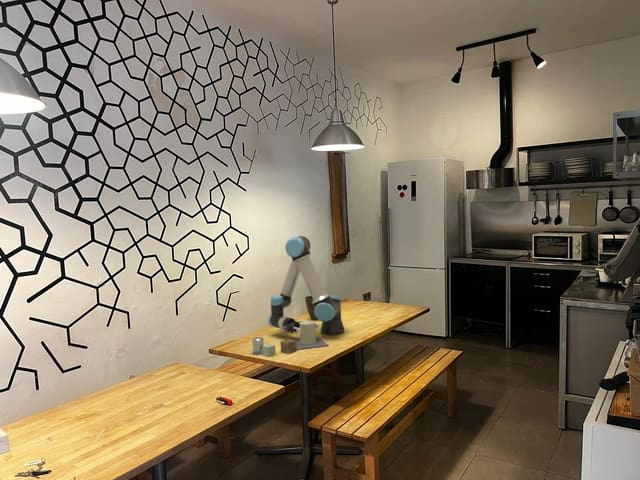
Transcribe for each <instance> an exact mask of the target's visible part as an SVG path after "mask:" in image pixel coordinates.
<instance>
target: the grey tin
mask: <svg viewBox="0 0 640 480" xmlns="http://www.w3.org/2000/svg"><path fill="white" fill-rule="evenodd" d="M251 341H252V345H251V346H252V354H253V355H255V354H256V356H257V355H263V354H262V346H264V345H265V344H264V337H261V336H257V337H253V338H252V339H251Z"/></svg>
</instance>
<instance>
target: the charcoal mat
mask: <svg viewBox="0 0 640 480" xmlns="http://www.w3.org/2000/svg"><path fill="white" fill-rule="evenodd" d="M315 338H316V342H315V343H313V344H301V343H300V338H299V339H297V338H296V339H294V340H295V341H296V351H300V350H310V349H315V348H325V347H330V344H328V343H327V342H326V341H325V340H323V339H322V338H321V337H319V336H315Z"/></svg>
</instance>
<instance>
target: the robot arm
mask: <svg viewBox="0 0 640 480" xmlns="http://www.w3.org/2000/svg"><path fill="white" fill-rule="evenodd" d="M284 248H285V252H286V254H287V255H288V256H290V258H291V261H290V264H289V267H288V269H287V272H286V273H287V274H286V276H285V279H284V282H283V285H282V288H281V290H280V294H279V295H273V296H271V297H270V311H271V315H270V316H269V317H268V320H267V322H268V325H270V326H271V327H273V328H277V329H281V330H283V331H285V332H287V333H291V334H293V333H295V334H299V335H300V334H302V332H301V329H300V324H299V323H300V322H302V321H303V320H299V321H298V320H297V321H296V320H295V319H294V318H293V317H290V316H289V317H288V316H284V309H286V308H288V307H289V306H291V304H292V301H293V300H292V296H293V294H294V292H295V288H296V286H297V283H298V280H299V277H300V273H301V276H302V278H303V281H304V282H305V285H306V287H307V289H308V292H309V293H310V296H312V298H313V302H312V304H313V306H314V308H315V310H314V314H315V316H316V318H317V319H318V320H317V321H320V322H322V323H321V326H320V324H319V323H315V330H320V333H321V334H322V335H326V336H327V335H328V336H331V335H332V336H334V335H341V334H344V333H345V326H344V323H343V321H342V307H341V306H342V304H341V303H342V300H341V296H339V295H330V294H328V293H327V292H326V290H325V288H324V286H323V283H322V281H321V279H320V277H319V275H318V272H317V271H316V268H315V266H314V264H313V262H312V260H311V254H312V253H311V252H310V250H311V242H310V240H309V239H308V237H306V236H303V235H300V236H299V235H298V236H293V237H291V238H289V239H288V240H287V242H286V243H285V246H284ZM343 332H344V333H343Z"/></svg>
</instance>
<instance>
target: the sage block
mask: <svg viewBox="0 0 640 480" xmlns="http://www.w3.org/2000/svg"><path fill="white" fill-rule="evenodd" d="M261 355H262V356H265V357H271V356H275V355H277V354H276V345H275V344H270V343H268V344H264V346H262V354H261Z"/></svg>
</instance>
